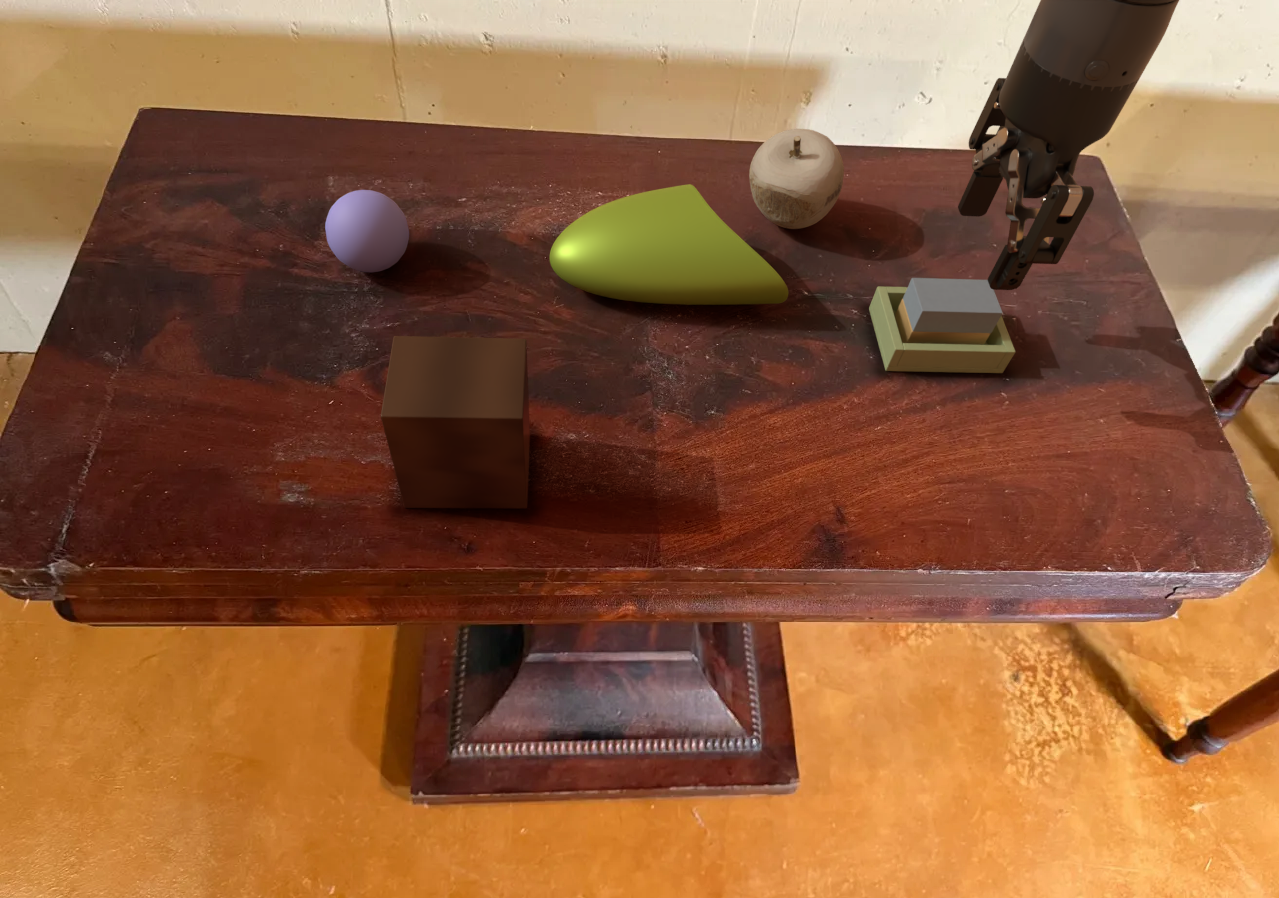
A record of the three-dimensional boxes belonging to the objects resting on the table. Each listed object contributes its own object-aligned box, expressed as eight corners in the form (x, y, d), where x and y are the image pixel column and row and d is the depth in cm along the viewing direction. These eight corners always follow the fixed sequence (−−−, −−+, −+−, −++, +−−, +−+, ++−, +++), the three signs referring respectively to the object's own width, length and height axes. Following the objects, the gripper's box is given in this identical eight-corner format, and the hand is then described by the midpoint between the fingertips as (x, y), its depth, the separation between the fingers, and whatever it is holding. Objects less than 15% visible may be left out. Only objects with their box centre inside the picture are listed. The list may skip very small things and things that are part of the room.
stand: (530, 433, 70) (526, 338, 61) (527, 509, 66) (522, 418, 57) (414, 432, 69) (393, 335, 60) (404, 508, 65) (380, 416, 56)
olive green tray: (979, 311, 82) (991, 289, 80) (1002, 373, 78) (1016, 352, 76) (868, 308, 81) (877, 286, 79) (885, 371, 77) (895, 349, 75)
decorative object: (834, 202, 90) (861, 115, 82) (822, 258, 85) (850, 170, 77) (749, 183, 91) (767, 94, 83) (732, 237, 86) (751, 148, 78)
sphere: (346, 297, 77) (329, 235, 71) (325, 246, 81) (307, 183, 75) (424, 277, 79) (414, 214, 74) (400, 228, 83) (389, 165, 77)
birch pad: (968, 320, 81) (978, 300, 79) (979, 352, 78) (990, 333, 76) (893, 318, 80) (902, 298, 78) (902, 351, 78) (912, 331, 76)
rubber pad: (979, 300, 79) (990, 279, 77) (991, 333, 76) (1003, 313, 74) (902, 298, 78) (911, 277, 76) (912, 331, 76) (922, 310, 74)
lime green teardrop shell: (765, 155, 78) (539, 178, 76) (796, 269, 73) (555, 296, 72) (752, 213, 85) (545, 235, 84) (779, 320, 80) (560, 346, 79)
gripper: (1187, 117, 52) (1060, 315, 65) (1101, -4, 61) (1004, 192, 73) (1065, 111, 51) (962, 312, 64) (996, -11, 60) (916, 189, 73)
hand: (984, 248), depth 69 cm, fingers open, 8 cm apart
